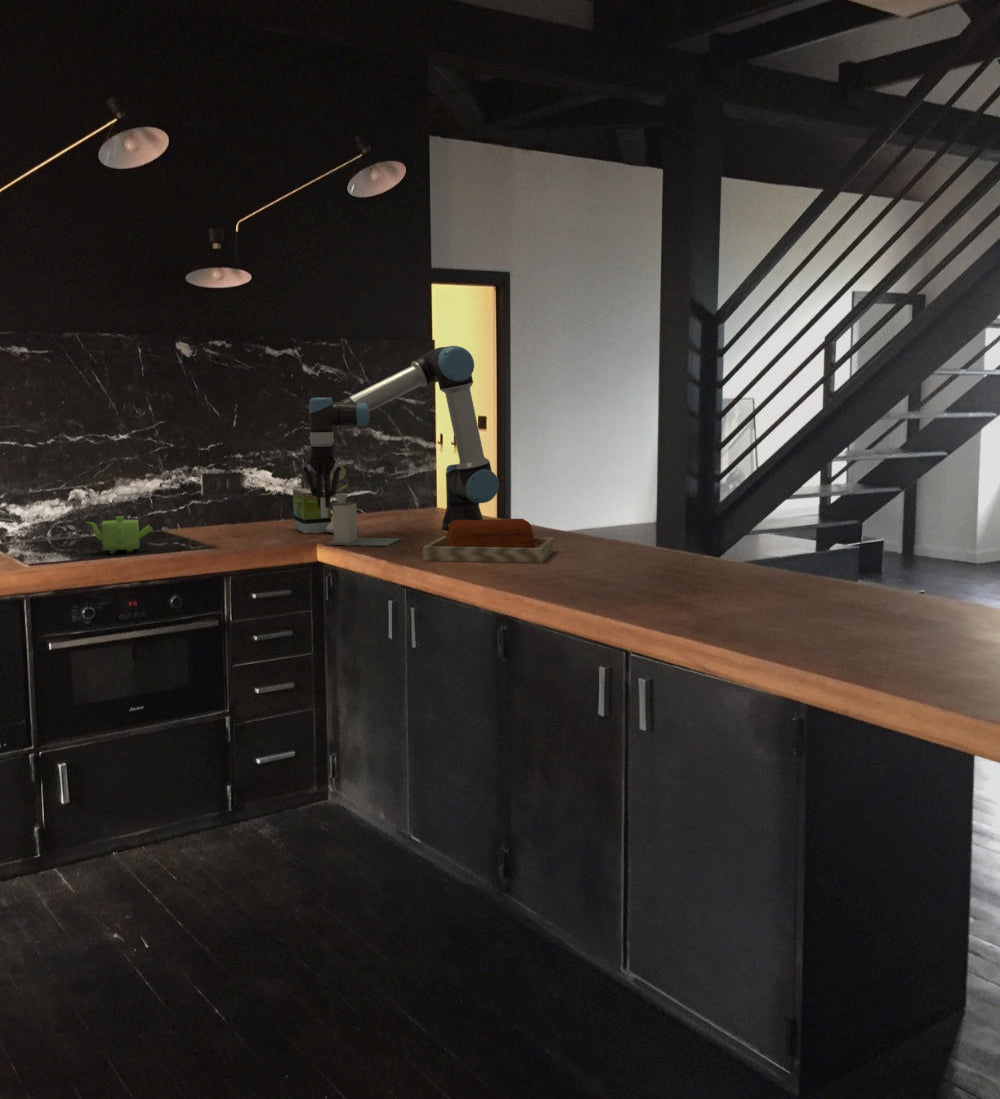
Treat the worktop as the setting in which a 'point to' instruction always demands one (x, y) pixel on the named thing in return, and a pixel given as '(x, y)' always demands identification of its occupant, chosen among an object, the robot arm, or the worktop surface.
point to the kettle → (120, 534)
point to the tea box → (308, 512)
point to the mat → (369, 542)
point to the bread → (490, 533)
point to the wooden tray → (488, 552)
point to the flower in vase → (341, 496)
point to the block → (345, 522)
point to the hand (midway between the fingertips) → (324, 517)
